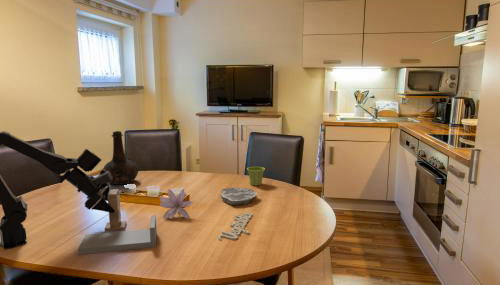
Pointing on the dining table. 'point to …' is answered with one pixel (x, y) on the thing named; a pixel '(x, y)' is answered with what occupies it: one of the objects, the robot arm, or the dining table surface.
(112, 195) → the brown upright panelled block
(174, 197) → the water lily
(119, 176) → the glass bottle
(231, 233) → the decorative sign
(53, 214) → the dining table surface
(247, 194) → the brain slice
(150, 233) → the grey l-shaped bracket
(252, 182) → the plant pot
